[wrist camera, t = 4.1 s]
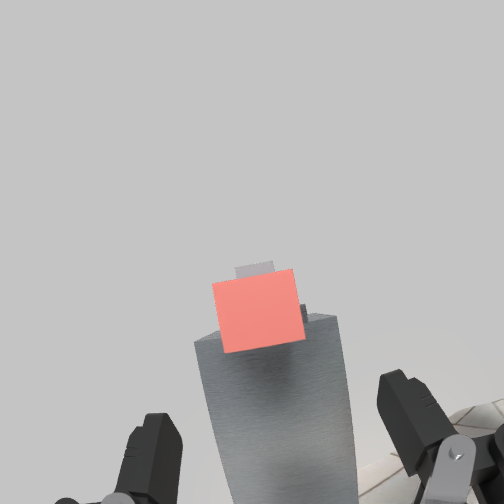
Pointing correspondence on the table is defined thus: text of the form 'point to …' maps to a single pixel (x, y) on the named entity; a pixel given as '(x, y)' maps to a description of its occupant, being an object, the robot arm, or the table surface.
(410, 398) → the robot arm
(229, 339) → the lever
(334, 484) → the box
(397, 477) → the table surface
